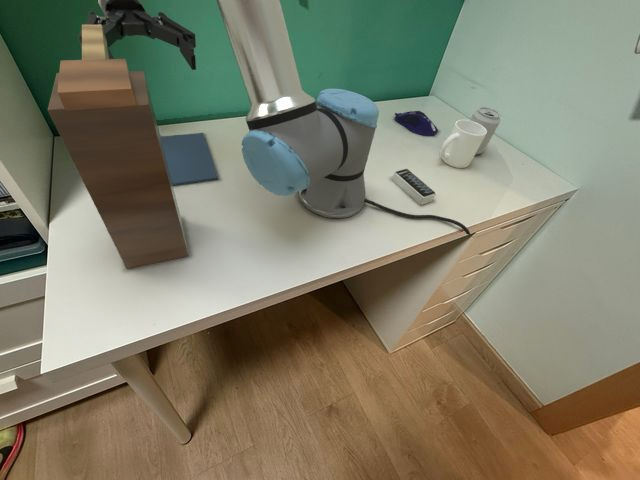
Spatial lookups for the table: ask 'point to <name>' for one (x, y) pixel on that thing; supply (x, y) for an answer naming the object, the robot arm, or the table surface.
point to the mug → (462, 143)
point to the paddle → (95, 76)
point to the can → (486, 124)
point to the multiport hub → (413, 186)
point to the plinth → (125, 174)
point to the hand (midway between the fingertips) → (156, 65)
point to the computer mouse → (417, 122)
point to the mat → (188, 158)
